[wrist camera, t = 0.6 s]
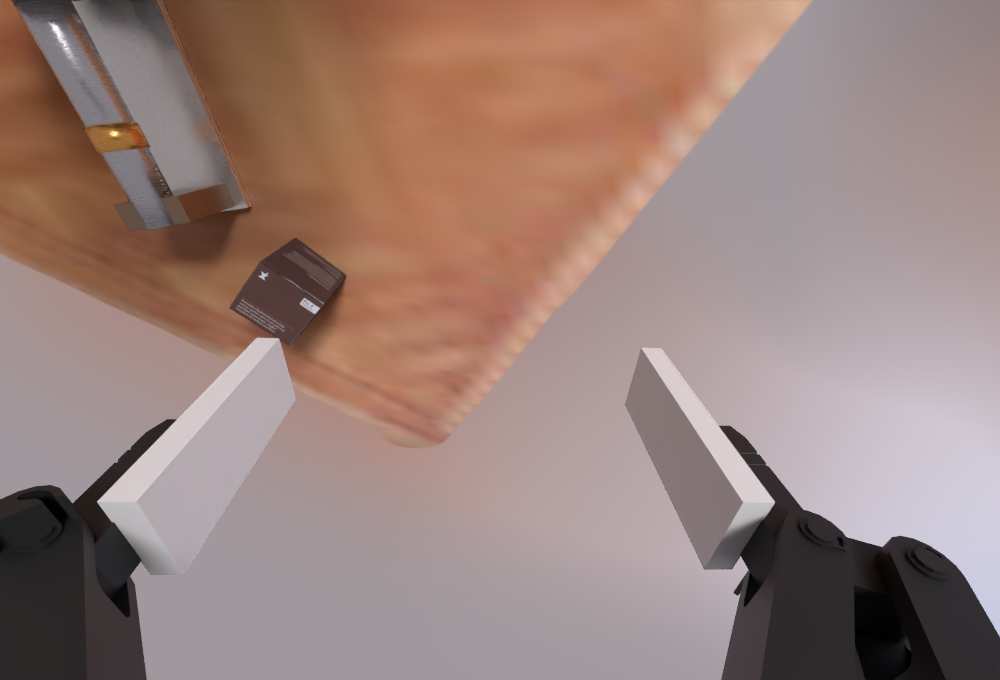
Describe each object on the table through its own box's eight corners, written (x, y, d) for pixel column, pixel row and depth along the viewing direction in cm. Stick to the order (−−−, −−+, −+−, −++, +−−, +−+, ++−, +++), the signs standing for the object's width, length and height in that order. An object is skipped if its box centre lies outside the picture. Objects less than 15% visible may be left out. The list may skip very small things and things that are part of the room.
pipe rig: (15, -96, 27) (-151, -171, 20) (113, -113, 26) (-19, -195, 19) (180, 216, 37) (110, 239, 30) (252, 206, 37) (198, 227, 30)
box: (265, 277, 40) (225, 307, 34) (296, 235, 38) (259, 259, 32) (317, 313, 43) (289, 347, 36) (349, 275, 41) (324, 305, 34)
